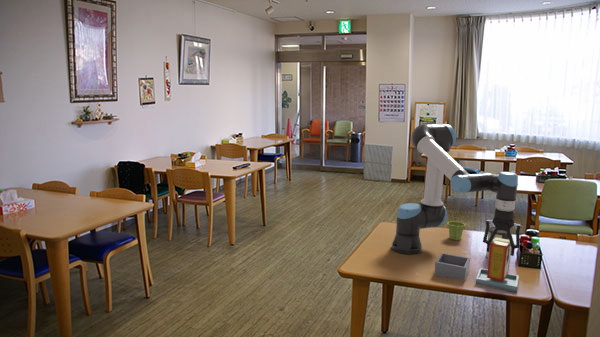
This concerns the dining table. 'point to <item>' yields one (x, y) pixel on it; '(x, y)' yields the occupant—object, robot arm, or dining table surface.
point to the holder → (452, 266)
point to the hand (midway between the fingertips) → (499, 260)
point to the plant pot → (455, 230)
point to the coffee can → (499, 234)
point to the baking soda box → (498, 259)
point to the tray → (507, 284)
